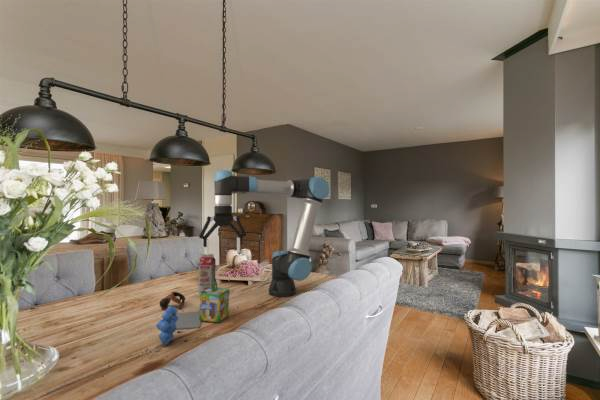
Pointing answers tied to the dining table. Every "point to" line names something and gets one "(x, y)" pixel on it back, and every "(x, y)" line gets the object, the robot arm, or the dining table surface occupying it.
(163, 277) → the dining table surface
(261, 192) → the robot arm
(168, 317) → the grapes
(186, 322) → the mat
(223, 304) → the chalk box
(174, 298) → the brown ring
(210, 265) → the juice carton
